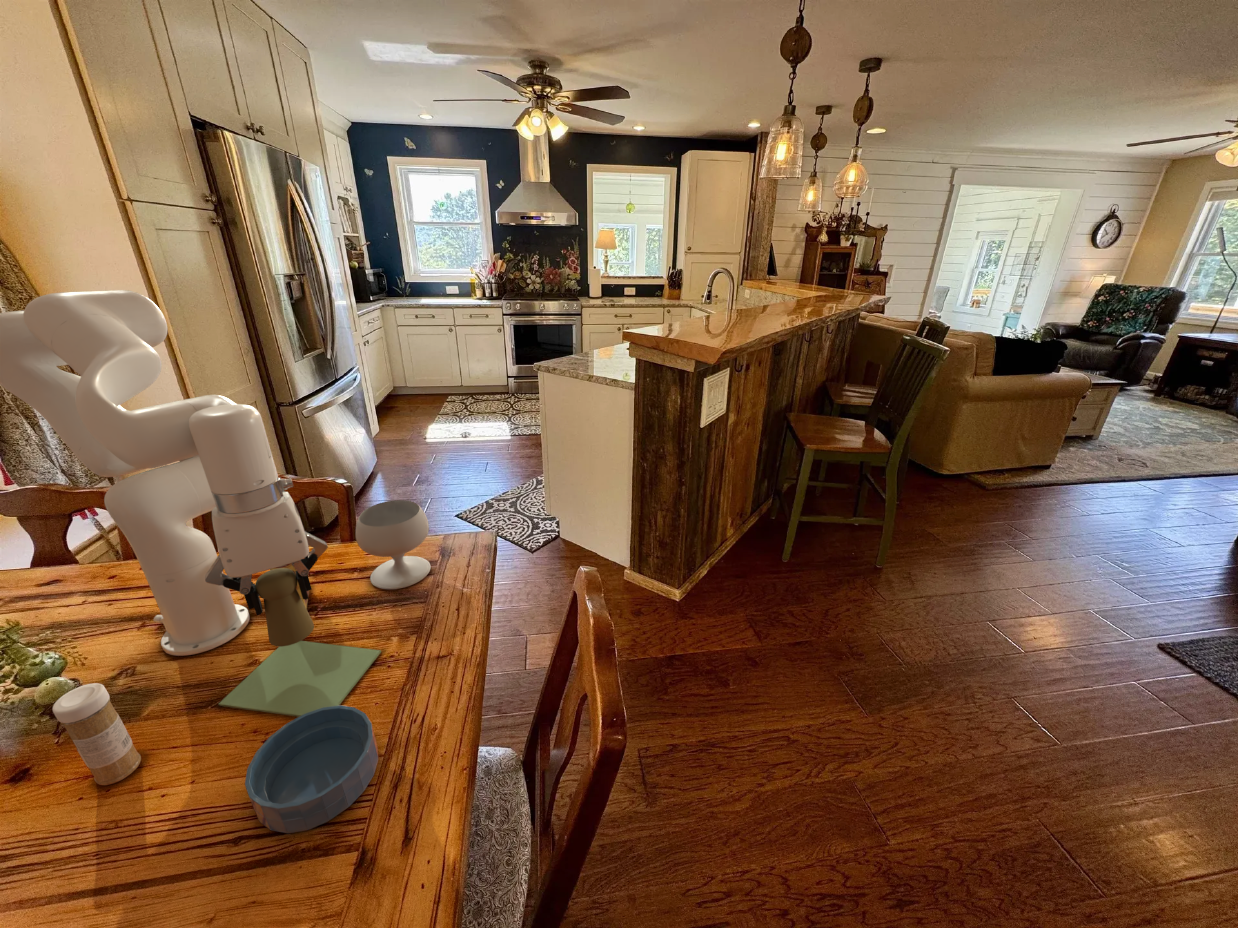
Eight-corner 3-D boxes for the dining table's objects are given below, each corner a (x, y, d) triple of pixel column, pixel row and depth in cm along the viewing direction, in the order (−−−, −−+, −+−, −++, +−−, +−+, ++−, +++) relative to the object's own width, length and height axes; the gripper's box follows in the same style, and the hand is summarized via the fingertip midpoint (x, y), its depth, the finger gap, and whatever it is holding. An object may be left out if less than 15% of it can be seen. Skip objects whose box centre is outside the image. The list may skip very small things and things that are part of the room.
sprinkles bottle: (110, 758, 67) (69, 685, 62) (150, 751, 68) (112, 678, 63) (86, 791, 63) (40, 715, 58) (129, 782, 64) (87, 707, 59)
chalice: (373, 559, 112) (360, 500, 106) (438, 552, 115) (429, 494, 109) (358, 597, 99) (343, 533, 93) (431, 588, 102) (421, 525, 96)
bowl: (227, 825, 60) (215, 797, 58) (309, 724, 72) (301, 699, 70) (334, 843, 58) (324, 816, 56) (398, 737, 71) (393, 712, 69)
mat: (218, 705, 75) (218, 703, 75) (287, 640, 88) (287, 638, 88) (326, 720, 73) (326, 718, 73) (381, 651, 86) (381, 650, 86)
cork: (293, 649, 74) (274, 588, 69) (258, 643, 75) (238, 583, 70) (323, 622, 79) (307, 564, 75) (290, 616, 80) (273, 559, 76)
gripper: (316, 471, 75) (340, 571, 82) (169, 501, 66) (211, 611, 73) (324, 488, 70) (349, 593, 77) (165, 524, 60) (211, 640, 67)
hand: (282, 601), depth 75 cm, fingers closed on cork, 5 cm apart
